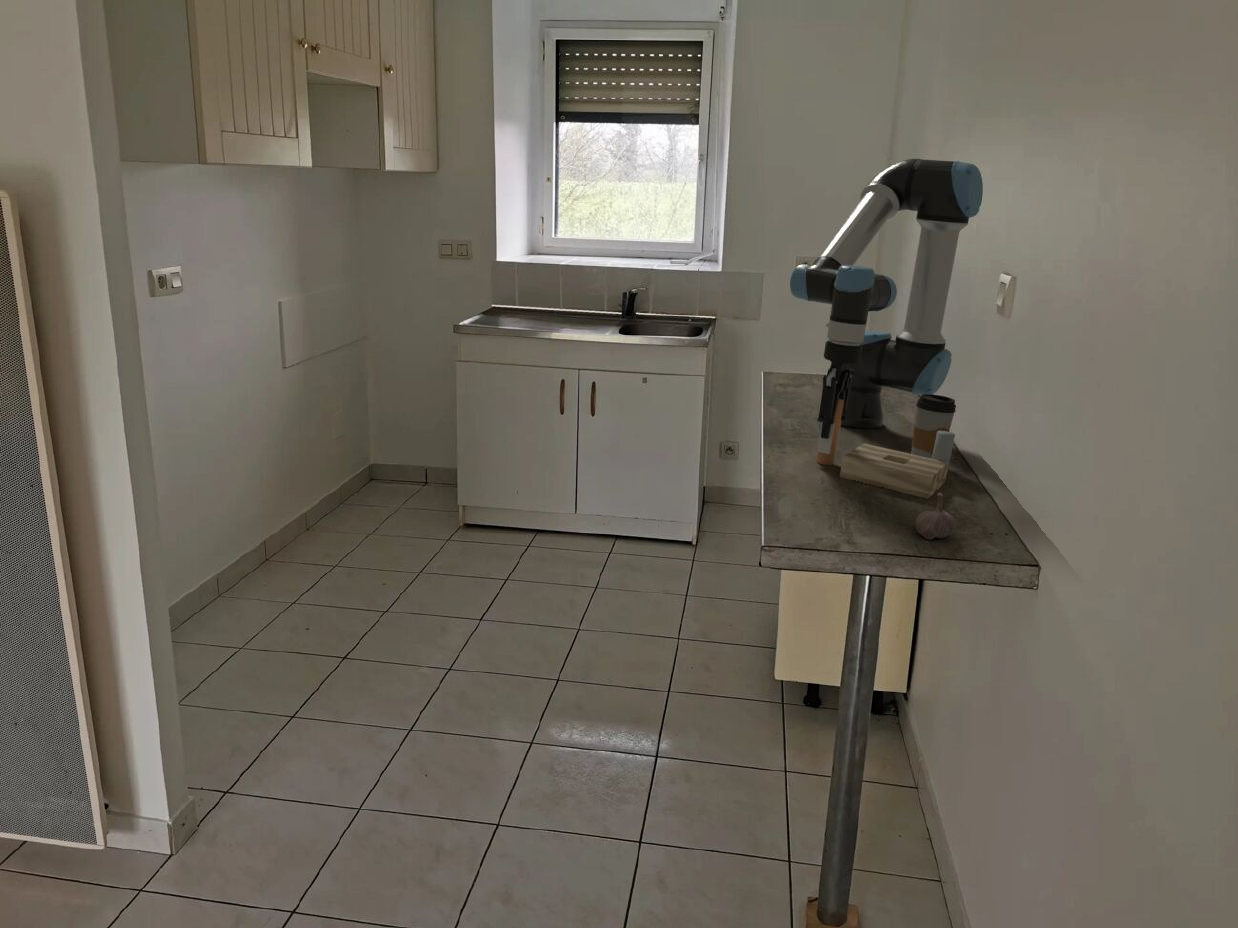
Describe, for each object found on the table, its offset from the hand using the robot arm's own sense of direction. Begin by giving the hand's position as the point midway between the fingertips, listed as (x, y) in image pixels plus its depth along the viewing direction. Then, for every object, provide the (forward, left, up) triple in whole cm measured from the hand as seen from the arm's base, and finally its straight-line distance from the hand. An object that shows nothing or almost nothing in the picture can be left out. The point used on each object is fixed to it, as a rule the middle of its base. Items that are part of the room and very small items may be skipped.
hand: (826, 450), depth 205 cm
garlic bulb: (+29, +30, -3) cm, 42 cm away
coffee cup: (-18, +17, -3) cm, 25 cm away
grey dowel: (-8, +22, -3) cm, 24 cm away
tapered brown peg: (0, 0, -3) cm, 3 cm away
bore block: (+1, +15, -3) cm, 15 cm away
